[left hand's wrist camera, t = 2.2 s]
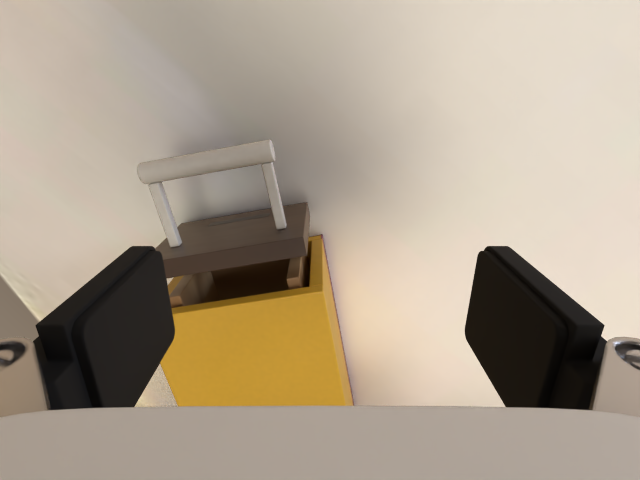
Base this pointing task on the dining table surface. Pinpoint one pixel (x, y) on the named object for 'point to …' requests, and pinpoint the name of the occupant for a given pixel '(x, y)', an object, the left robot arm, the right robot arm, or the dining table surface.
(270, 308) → the yellow open box
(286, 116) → the dining table surface
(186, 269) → the drawer
